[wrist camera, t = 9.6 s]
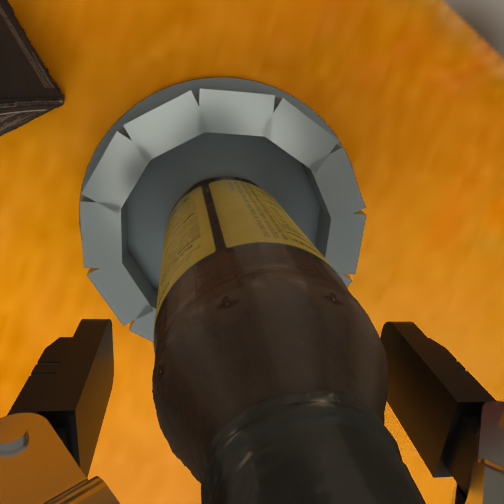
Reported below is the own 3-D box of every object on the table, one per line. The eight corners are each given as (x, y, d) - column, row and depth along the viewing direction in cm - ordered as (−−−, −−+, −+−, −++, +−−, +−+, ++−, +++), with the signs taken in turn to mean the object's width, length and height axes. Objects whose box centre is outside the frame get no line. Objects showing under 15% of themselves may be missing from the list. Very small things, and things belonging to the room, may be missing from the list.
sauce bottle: (191, 295, 24) (179, 1016, 5) (149, 192, 21) (-139, 869, 3) (298, 260, 24) (654, 855, 5) (268, 153, 21) (734, 576, 3)
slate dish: (375, 91, 22) (401, 91, 19) (332, 337, 27) (347, 365, 24) (74, 63, 20) (54, 59, 17) (91, 337, 25) (78, 368, 22)
